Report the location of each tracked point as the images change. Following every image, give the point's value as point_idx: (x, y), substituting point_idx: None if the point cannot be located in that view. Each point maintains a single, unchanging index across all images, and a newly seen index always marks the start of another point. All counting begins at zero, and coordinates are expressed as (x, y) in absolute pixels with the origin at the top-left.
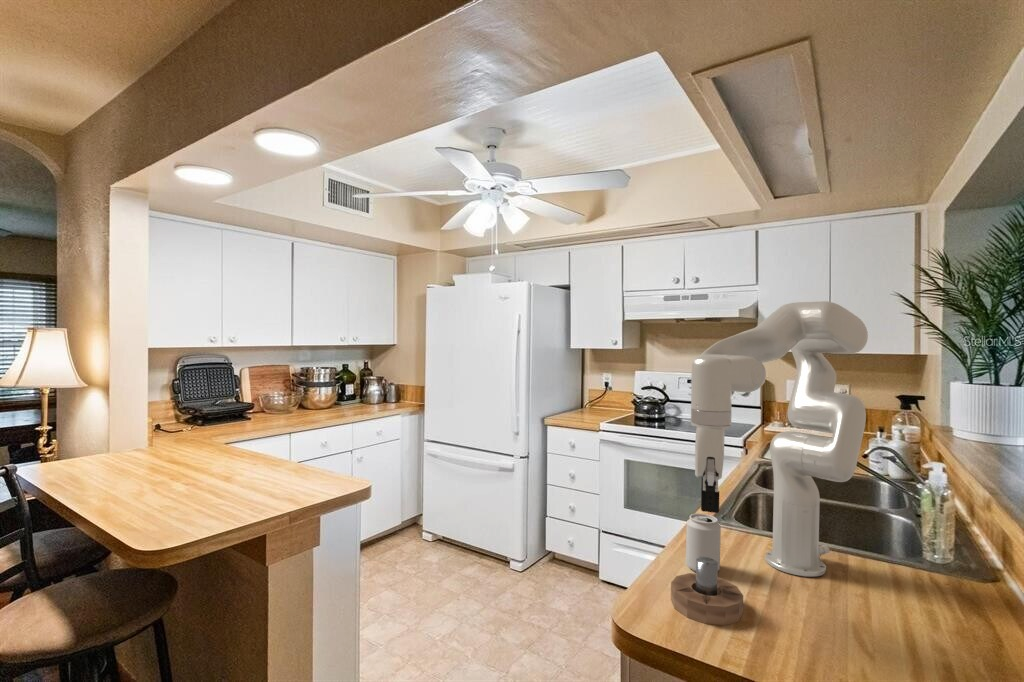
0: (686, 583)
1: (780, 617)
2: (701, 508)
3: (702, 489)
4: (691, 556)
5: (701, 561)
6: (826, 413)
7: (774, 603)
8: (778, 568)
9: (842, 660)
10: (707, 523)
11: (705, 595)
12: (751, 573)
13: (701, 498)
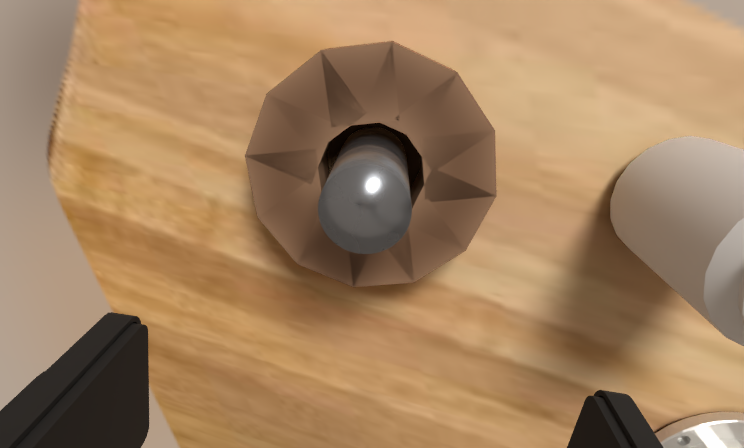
0: (396, 106)
1: (363, 349)
2: (99, 321)
3: (612, 443)
4: (667, 163)
5: (358, 186)
6: None
7: (441, 356)
8: (667, 429)
9: (206, 414)
10: (741, 297)
11: (316, 164)
12: (637, 346)
13: (29, 386)
